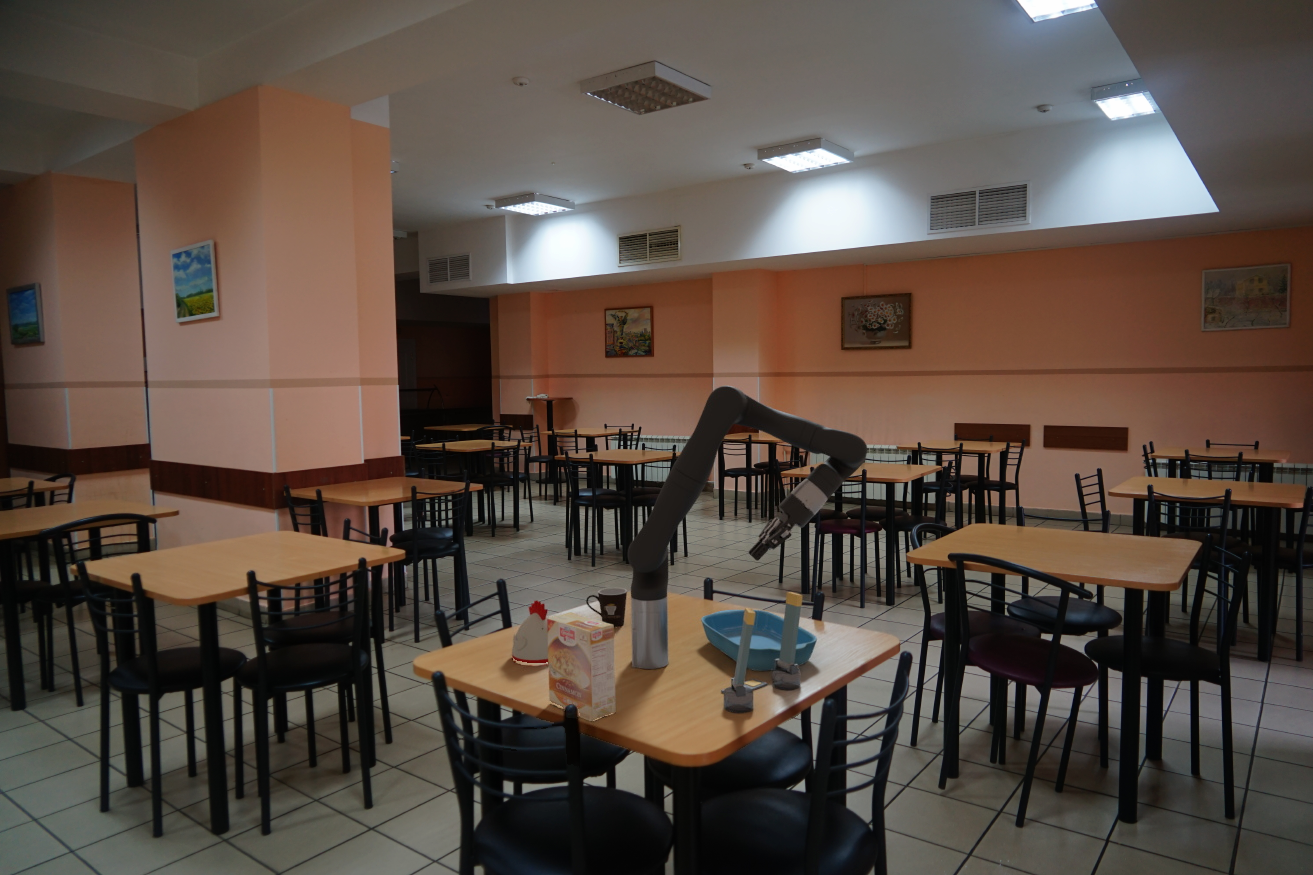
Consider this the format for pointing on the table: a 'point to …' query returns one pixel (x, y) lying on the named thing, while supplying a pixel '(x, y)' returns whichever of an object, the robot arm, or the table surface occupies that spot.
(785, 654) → the far lever
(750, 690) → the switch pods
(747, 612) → the near lever
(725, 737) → the table surface
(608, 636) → the coffeecake box
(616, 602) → the coffee mug
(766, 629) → the casserole dish
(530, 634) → the kitchen timer
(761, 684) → the chart card
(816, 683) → the table surface
